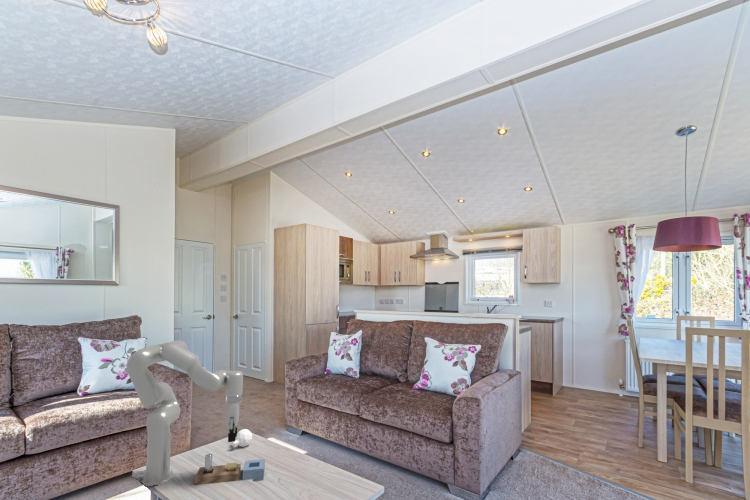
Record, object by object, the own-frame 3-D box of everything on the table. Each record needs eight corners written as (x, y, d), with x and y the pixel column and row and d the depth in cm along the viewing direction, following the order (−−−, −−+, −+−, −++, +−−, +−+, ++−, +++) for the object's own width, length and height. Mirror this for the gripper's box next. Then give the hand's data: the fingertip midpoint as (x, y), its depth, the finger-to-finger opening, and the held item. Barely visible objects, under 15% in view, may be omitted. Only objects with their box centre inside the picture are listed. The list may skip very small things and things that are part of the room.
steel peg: (203, 480, 174) (204, 457, 175) (205, 477, 177) (205, 454, 178) (210, 479, 174) (211, 456, 175) (212, 476, 177) (212, 453, 178)
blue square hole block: (242, 482, 174) (242, 470, 174) (244, 471, 184) (245, 460, 184) (263, 480, 176) (263, 468, 176) (264, 469, 186) (264, 459, 186)
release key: (225, 478, 175) (226, 466, 176) (226, 474, 179) (227, 463, 179) (235, 476, 176) (236, 465, 177) (236, 473, 180) (237, 462, 180)
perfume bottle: (243, 437, 221) (226, 447, 210) (246, 423, 219) (229, 432, 209) (254, 444, 217) (237, 455, 206) (257, 430, 215) (240, 440, 205)
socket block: (194, 487, 170) (195, 477, 170) (199, 476, 179) (199, 467, 180) (237, 482, 174) (238, 473, 174) (240, 472, 183) (240, 463, 184)
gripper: (228, 394, 188) (226, 433, 187) (222, 404, 172) (220, 447, 170) (244, 393, 190) (243, 431, 188) (240, 403, 173) (238, 445, 172)
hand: (232, 438), depth 179 cm, fingers open, 5 cm apart
